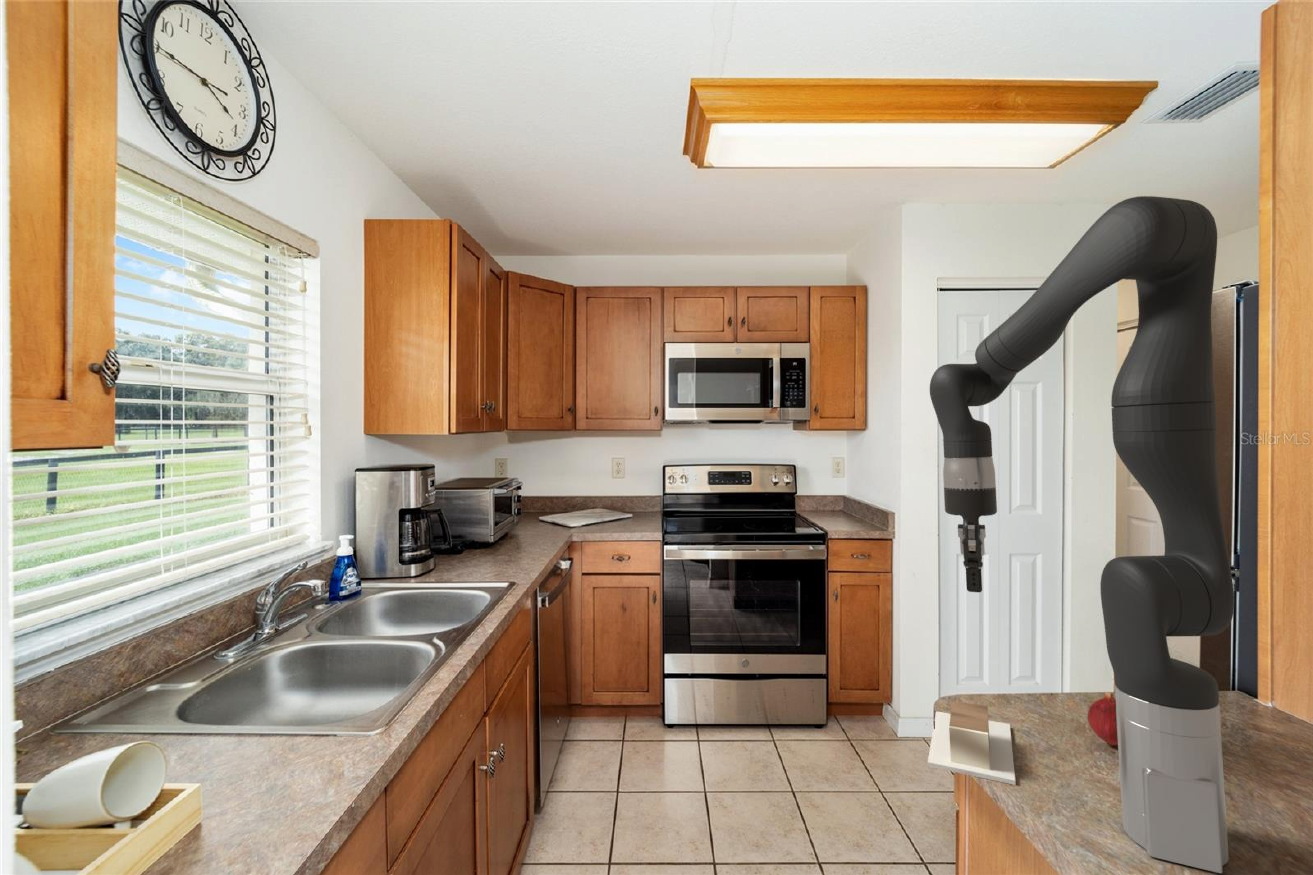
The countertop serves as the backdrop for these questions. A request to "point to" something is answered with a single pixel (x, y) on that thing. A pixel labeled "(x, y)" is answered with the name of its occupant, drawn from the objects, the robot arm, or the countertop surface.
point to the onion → (1104, 719)
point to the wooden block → (969, 735)
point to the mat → (998, 766)
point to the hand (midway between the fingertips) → (974, 590)
